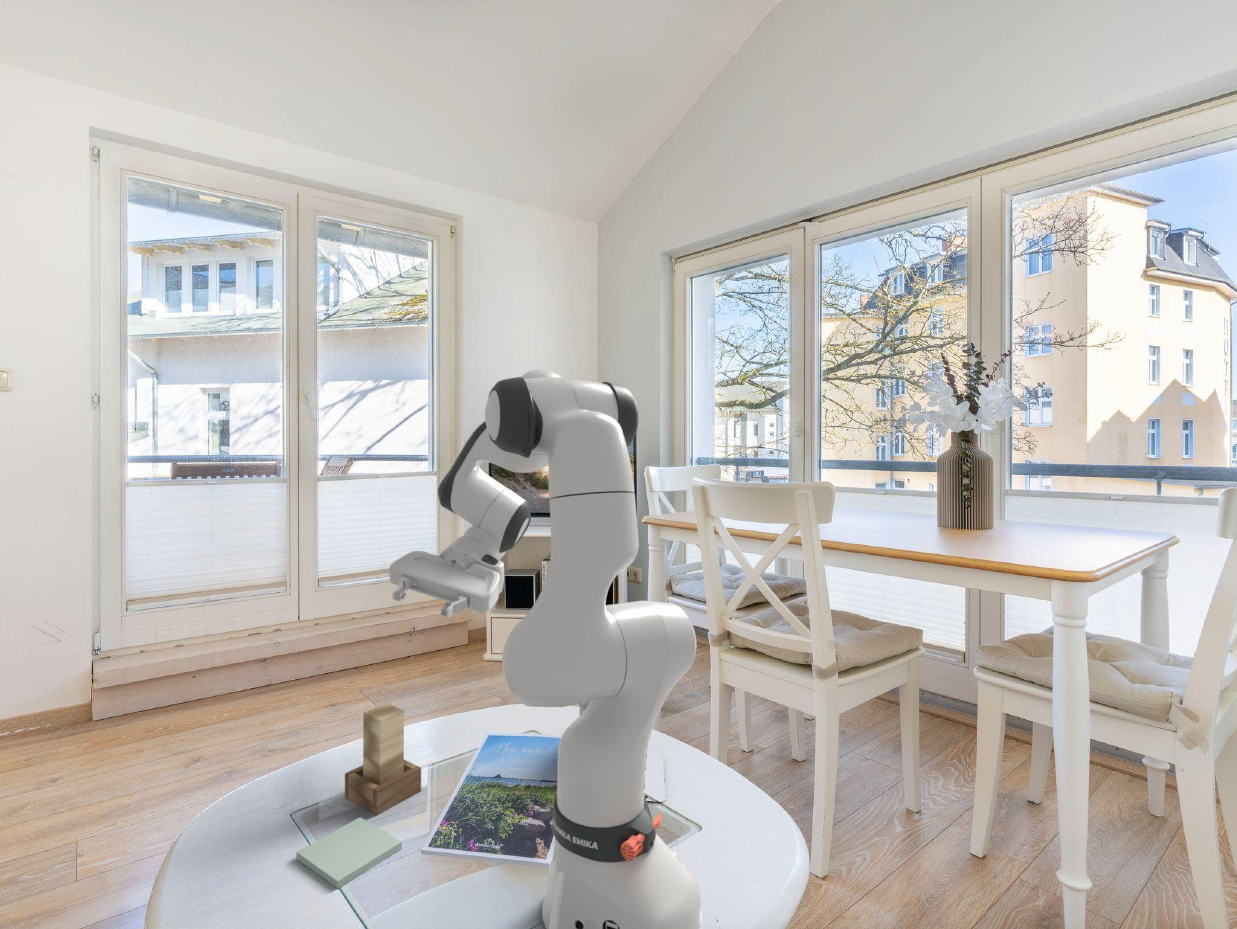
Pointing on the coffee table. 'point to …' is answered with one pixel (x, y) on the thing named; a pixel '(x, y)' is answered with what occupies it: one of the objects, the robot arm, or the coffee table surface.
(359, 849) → the pad
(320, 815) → the coffee table surface
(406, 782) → the pocket
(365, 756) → the oak block
